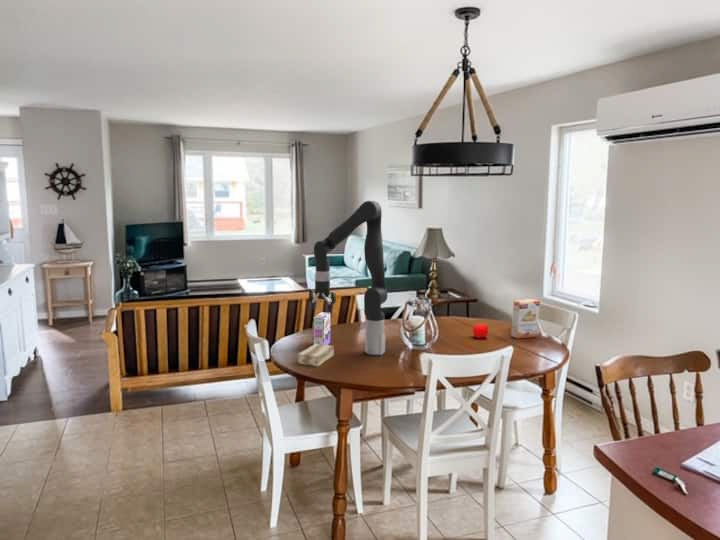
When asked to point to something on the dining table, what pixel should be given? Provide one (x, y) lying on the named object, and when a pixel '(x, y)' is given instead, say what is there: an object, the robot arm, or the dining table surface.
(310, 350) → the riser
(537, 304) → the cracker box
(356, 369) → the dining table surface
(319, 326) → the candy box
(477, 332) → the red piece
